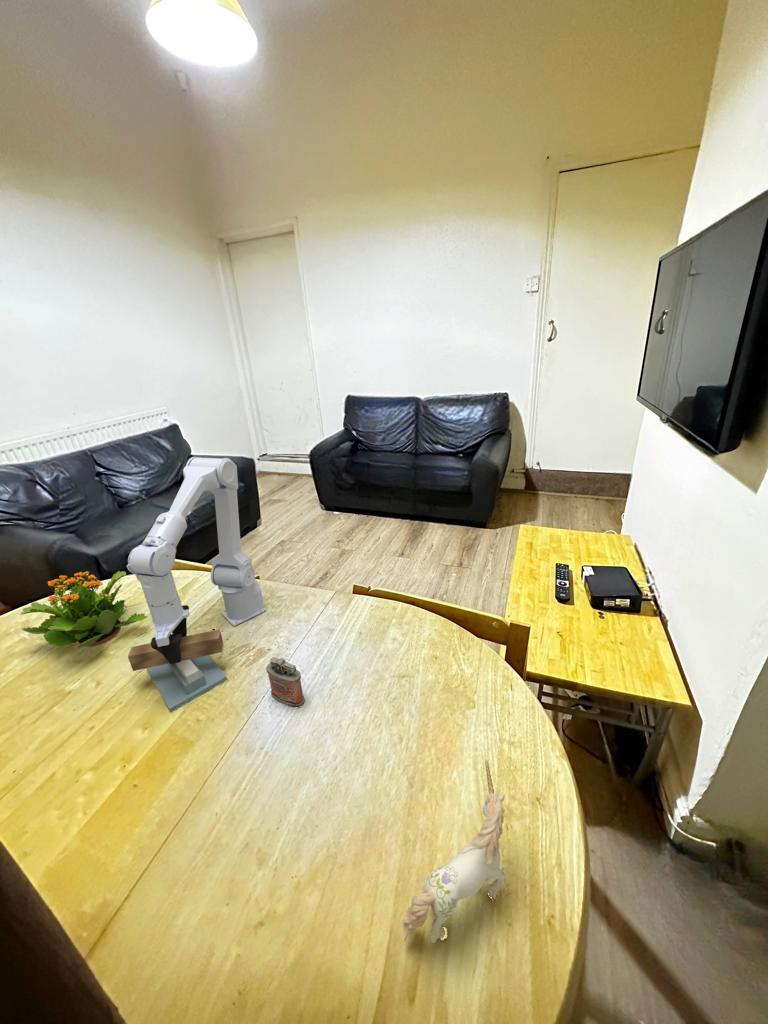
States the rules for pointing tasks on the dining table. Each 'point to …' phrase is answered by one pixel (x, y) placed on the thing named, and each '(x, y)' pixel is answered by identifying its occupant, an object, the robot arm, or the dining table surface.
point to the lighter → (285, 682)
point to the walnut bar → (189, 649)
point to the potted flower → (81, 612)
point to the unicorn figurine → (462, 872)
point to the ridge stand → (186, 680)
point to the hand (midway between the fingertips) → (178, 649)
